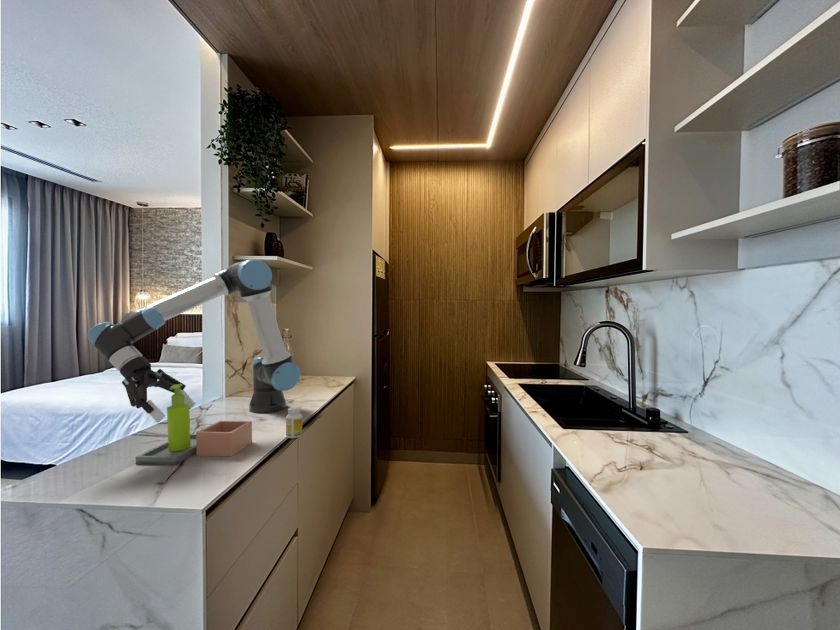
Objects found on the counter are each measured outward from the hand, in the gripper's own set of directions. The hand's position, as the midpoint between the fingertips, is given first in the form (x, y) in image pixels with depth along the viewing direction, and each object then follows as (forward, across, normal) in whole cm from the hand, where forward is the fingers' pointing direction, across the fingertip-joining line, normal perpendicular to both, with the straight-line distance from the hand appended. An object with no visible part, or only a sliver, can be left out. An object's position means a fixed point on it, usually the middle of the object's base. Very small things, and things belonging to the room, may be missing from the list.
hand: (177, 412), depth 119 cm
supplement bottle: (+30, -16, +13) cm, 36 cm away
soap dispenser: (+8, 0, -8) cm, 11 cm away
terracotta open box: (+18, -3, +1) cm, 18 cm away
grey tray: (+9, 0, -8) cm, 12 cm away
